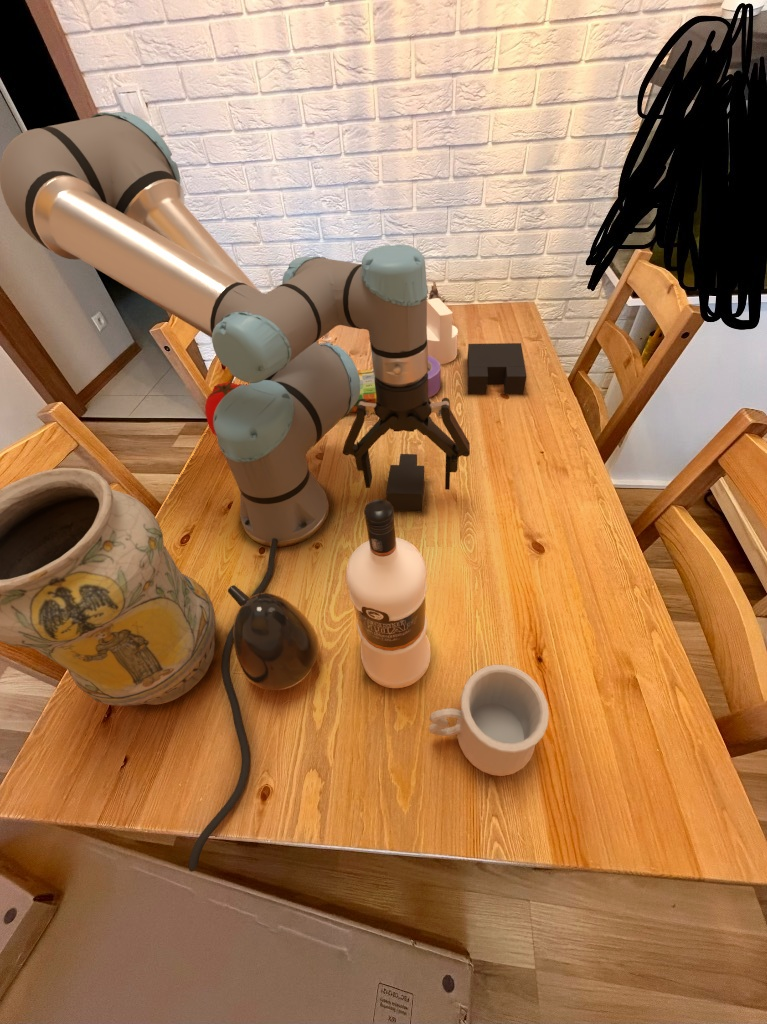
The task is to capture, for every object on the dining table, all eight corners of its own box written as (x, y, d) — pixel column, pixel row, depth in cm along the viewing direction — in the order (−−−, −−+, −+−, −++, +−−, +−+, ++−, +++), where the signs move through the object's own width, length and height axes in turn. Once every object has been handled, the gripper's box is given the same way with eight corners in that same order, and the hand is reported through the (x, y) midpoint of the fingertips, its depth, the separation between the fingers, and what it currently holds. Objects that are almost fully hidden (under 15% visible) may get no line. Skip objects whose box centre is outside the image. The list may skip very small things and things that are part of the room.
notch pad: (523, 394, 100) (526, 376, 97) (467, 394, 102) (469, 376, 99) (518, 360, 110) (521, 343, 106) (467, 361, 111) (468, 343, 108)
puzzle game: (294, 373, 104) (382, 364, 104) (298, 391, 107) (384, 382, 107) (291, 403, 96) (386, 393, 96) (296, 421, 100) (387, 412, 99)
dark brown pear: (287, 615, 68) (259, 553, 56) (338, 656, 63) (319, 597, 52) (232, 668, 63) (190, 612, 52) (283, 717, 58) (249, 667, 47)
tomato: (235, 467, 91) (211, 412, 81) (208, 439, 98) (184, 384, 88) (284, 440, 95) (268, 385, 86) (256, 415, 102) (238, 361, 92)
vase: (114, 757, 56) (-91, 647, 34) (89, 645, 67) (-80, 506, 45) (250, 674, 62) (151, 534, 40) (208, 583, 73) (110, 432, 50)
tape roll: (385, 376, 109) (383, 357, 105) (433, 369, 110) (433, 349, 106) (393, 405, 101) (392, 385, 97) (445, 397, 102) (446, 377, 98)
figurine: (422, 335, 121) (421, 289, 112) (426, 323, 125) (426, 278, 116) (446, 336, 120) (447, 289, 111) (450, 324, 124) (451, 278, 115)
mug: (523, 694, 58) (537, 660, 50) (542, 775, 52) (561, 750, 44) (425, 700, 58) (424, 667, 51) (432, 781, 52) (433, 757, 45)
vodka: (441, 642, 63) (448, 489, 41) (411, 704, 58) (401, 566, 36) (382, 615, 67) (359, 460, 44) (349, 671, 61) (304, 527, 39)
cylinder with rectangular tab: (415, 350, 116) (414, 302, 107) (448, 342, 118) (449, 295, 109) (428, 367, 110) (428, 318, 101) (462, 359, 112) (465, 310, 103)
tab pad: (422, 512, 79) (422, 494, 76) (387, 510, 80) (386, 492, 77) (425, 472, 86) (425, 454, 83) (393, 471, 87) (392, 453, 84)
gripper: (307, 389, 63) (333, 497, 79) (494, 387, 60) (481, 500, 75) (319, 360, 68) (341, 467, 84) (491, 357, 65) (480, 469, 80)
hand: (407, 483), depth 79 cm, fingers open, 13 cm apart
